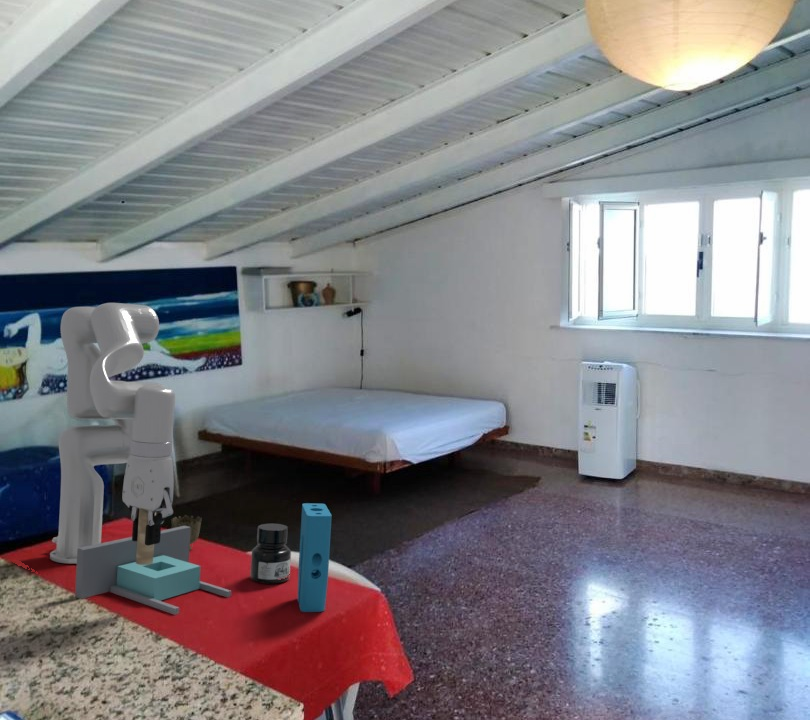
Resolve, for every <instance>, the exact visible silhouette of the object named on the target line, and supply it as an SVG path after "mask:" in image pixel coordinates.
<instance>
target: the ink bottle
mask: <svg viewBox="0 0 810 720" xmlns="http://www.w3.org/2000/svg"><path fill="white" fill-rule="evenodd" d="M288 528H289V527H288V526H287V525H285V524H282V523H281V524H280V523H262V524H260V525H258V526H257V533H256V542H257V544H256V546H255V547H253V548H252V550H251V557H250V558H251V561H250V574H249V575H250V579H251V580H252V581H254V582H256V583H259V584H265V585H266V584H267V585H274V584H281V583H284V582H286V581H289V580H290V576H291V558H292V557H291V556H292V552H291V549H290V548H289V547H288V545H286V544H288V541H287V540H288V531H289V529H288ZM289 574H290V575H289ZM288 575H289V577H287V576H288ZM285 577H287V578H285ZM283 578H285V579H283ZM278 579H281V580H278Z"/></svg>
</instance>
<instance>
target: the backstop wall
mask: <svg viewBox="0 0 810 720" xmlns="http://www.w3.org/2000/svg"><path fill="white" fill-rule="evenodd" d="M190 532H191V527H188V526H181V527H176V528H172V527H171V528H168V529H167V528H166V529H163V530H162V529H161V535H160V542H159V543H157V544H154V555H153V558H154V557H158V556H162V555H165V556H168V557H171V558H175V559H178V560H182V561H185V562H188V563H190V551H191V549H190ZM136 554H137V541H132V536H129V537H124V538H120V539H115V540H110V541H105V542H101V543H100V544H95V545H90V546H85V547H81V548H78V550H77V564H76V570H75V573H76V574H75V591H74V597H75V598H77V599H80V600H83V599H86V598H90V597H94V596H97V595H102V594H105V593H108V592H109V593H112V594H115V595H118V596H120V597H124V598H126V599H129V600H132V601H134V602H137V603H140V604H142V605H146V606H149V607H151V608H154V609H157V610H160V611H163V612H166V613H168V614H172V615H179V613H180V607H179V606H176V605H173V604H172V603H171V604H170V603H167V602H165V601H163V600H160V601H159V600H156V599H153V598H150V597H147V596H144V595H142V594H139V593H136V592H133V591H130V590H127V589H124V588H121V587H118V586H117V568H118V566H121V565H125V564H129V563H133V562H136ZM199 589H200V590H203V591H206V592H209V593H213V594H216V595H219V596H223V597H225V598H230V597H231V596H232V590H231V589H230V590H229V589H227V588H224V587H221V586H218V585H214V584H211V583H208V582H204V581H201V580H200V585H199ZM199 589H198V590H199Z"/></svg>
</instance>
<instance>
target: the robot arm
mask: <svg viewBox="0 0 810 720" xmlns="http://www.w3.org/2000/svg"><path fill="white" fill-rule="evenodd" d="M159 320H160V319H159V317H158V315H157V313H156V311H155V310H154V309H153V308H152V307H151V306H148V305H144V304H143V305H142V304H132V303H121V302H106V303H102V304H100V305H98V306H74V307H70V308H68V309H66V310H65V311H64V313H63V314H62V317H61V320H60V337H61V341H62V345H63V348H64V352H65V354H66V355H65V356H66V360H67V376H66V377H67V380H66V381H67V382H66V383H67V384H66V405H67V406H66V407H67V408H66V409H67V413H68V414H69V416H70V417H71V418H73V419H78V420H89V421H91V420H92V421H94V420H95V421H96V420H113V423H114V424H106V425H105V424H104V425H103V424H86V425H85V424H84V425H83V424H82V425H75V426H70V427H68V428H65V430H63V431H62V432H61V434H60V435H59V438H58V452H59V458H60V499H59V517H58V518H59V519H58V535H57V536H55V537H53V538H52V540H51V541H52V543H54V544H56V548H55V549H54V550H52V551H51V552H50V553H49V559H50V560H51V561H53V562H55V563H59V564H60V563H61V564H69V565H73V564H74V565H77V550H78V548H81V547H85V546H90V545H95V544H100V543H102V528H103V526H102V525H103V512H104V510H103V509H104V491H105V490H104V489H105V485H104V481H103V478H102V477H101V475H100V474H99V473H98V472H97V471H96V470H95V469H96V468H94V467H95V466H101V465H102V466H103V465H115V464H119V465H120V464H126V467H125V471H124V478H123V485H122V499H121V500H122V502H123V503H124V504H125V506H127V508H128V510H129V511H130V512H129V513H130V514H131V517H130V519H131V521H132V534H131V537H132V541H137V538H138V521H139V508H140V509H143V510H147V511H148V523H149V525H146V534H145V545H147V546H149V545H153V544H157V543H159V542H160V535H161V531H162V524H163V523H164V522H165V520H166V519H167V518H168V517H170V516H172V515H173V514H174V509H173V500H174V489H175V487H174V485H175V484H174V481H175V479H174V478H175V477H174V464H173V458H172V448H173V437H174V422H175V421H174V420H175V419H174V418H175V404H176V393H175V391H174V390H173V389H172V388H170V387H166V386H164V385H163V384H161V383H158V382H141V381H124V380H110V378H111V377H113V376H116V375H119V374H122V373H124V372H127V371H129V370H132V369H133V368H135V367H136V366H137V365H139V364H140V362H142V360H143V358H144V355H145V351H144V346H143V344H144V345H145V344H147V343H151V342H153V341H154V340H155V339H156V338H157V337H158V334H159V332H160V321H159ZM96 344H97V345H98V346H96ZM155 512H156V515H155Z"/></svg>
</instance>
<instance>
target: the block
mask: <svg viewBox="0 0 810 720" xmlns="http://www.w3.org/2000/svg"><path fill="white" fill-rule="evenodd" d="M331 529H332V513H331V512H330V509H328V507H327V505H326V504H325V503H309V502H306V503H302V505H301V521H300V537H299V539H300V540H299V551H298V552H299V553H298V554H299V555H298V569H297V570H298V571H297V572H298V573H297V574H298V575H297V576H298V577H297V602H298V604H299V606H298V607H299V610H300V612H303V613H317V612H318V613H319V612H325V611H326V601H327V591H328V581H329V564H330V550H331V549H330V547H331V533H332V532H331Z"/></svg>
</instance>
